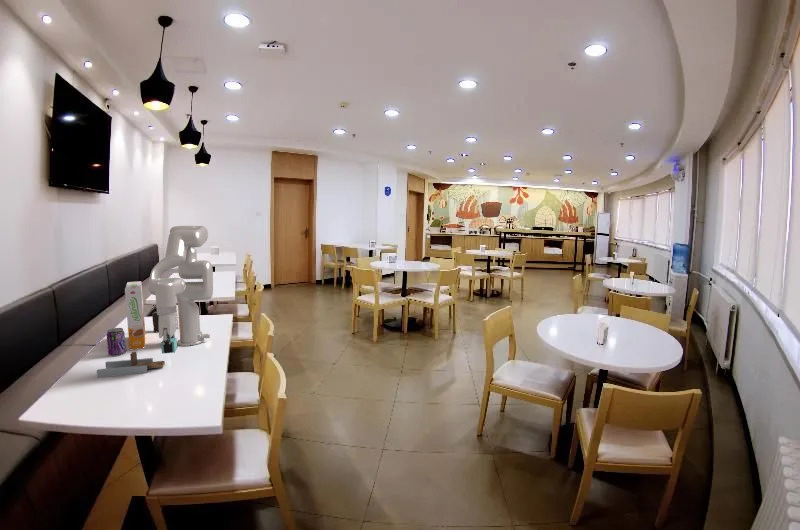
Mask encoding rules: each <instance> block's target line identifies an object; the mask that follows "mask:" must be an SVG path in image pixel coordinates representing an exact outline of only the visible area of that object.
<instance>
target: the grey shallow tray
mask: <svg viewBox="0 0 800 530" xmlns="http://www.w3.org/2000/svg"><path fill="white" fill-rule="evenodd" d="M144 362H154V357H148V358H137V363H144ZM138 373H139V374H147V373H148V369H147V365H142V366H131V359H122V360H111V361H109V360H108V361H105V368H98V369H97V370H96V376H97V378H103V377H105V376H106V377H113V376H115V377H116V376H124V375H125V376H126V375H127V374H128V375H137V374H138ZM106 377H105V378H106Z"/></svg>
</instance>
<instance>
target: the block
mask: <svg viewBox="0 0 800 530" xmlns="http://www.w3.org/2000/svg"><path fill="white" fill-rule="evenodd" d="M168 340H169V338H168ZM177 341H178V339H177V337H175V338H171V343H172V350H173V352H172V353H171V354H174V353H176V352H177V350H178V344H177ZM160 345H161V346H160V347H161V349H160V350H161V354H165V353H164V346H163V340H162V341H160Z"/></svg>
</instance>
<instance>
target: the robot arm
mask: <svg viewBox="0 0 800 530" xmlns="http://www.w3.org/2000/svg"><path fill="white" fill-rule="evenodd" d="M208 237H209V232H208V229H207V227H205V225H176V226H172V227H171V228H170V229H169V234H168V237H167V238H168V239H167V244H166V251H165V254H164V258H163V259H161V260H159V262H157V263H156V264H155V265H154V267H153V268H152V269H151V272H150V275H149V280H148V291H149V293H150V294H151V295H154V296H155V304H156V305H155V306H156V307H155V308H156V312H157V315H159V332H158V337H159V338H160V339H161V338H162V341H163V346H164V354H173V353H172V352H173V350H172V343H171V338H176V336H175V334H176V331H177V324H176V314H177V312H178V330H179V339H177V346H180V347H191V346H195V345H196V344H197V345H200V344H202V343H204V342H205V339H210V337H211V335H210V334H209V333H203V331H201V321H200V320H201V319H200V307H199V306H198V304H197V303H196V302H195V301H209V300H211V299H212V298H213V295H214V270H213V265H212V263H211V261H209V260H206V259H205V260H204V259H203V260H198V258H197V254H198V253H197V252H198V251H197V249H196V248H201V247H202V246H203V245H204V244H205V243H207V240H208V239H209V238H208ZM176 267H177V268H178V269H177V270H178V277H161V276H162V275H163V274H164V273H165V272H167V271H169V270H172V269H175V268H176ZM185 280H202V281H185ZM168 338H169V340H168ZM190 345H191V346H190Z"/></svg>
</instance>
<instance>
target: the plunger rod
mask: <svg viewBox="0 0 800 530" xmlns="http://www.w3.org/2000/svg"><path fill="white" fill-rule="evenodd" d="M137 354H138V352H137V351H131V353H130V354H129V355H130V360H131V366H142V365H147V370H148V369H158V368H164V366H165V365H166V364H165V360H159V361H157V360H156V361H153V362H144V363H137V359H138V355H137Z"/></svg>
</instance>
